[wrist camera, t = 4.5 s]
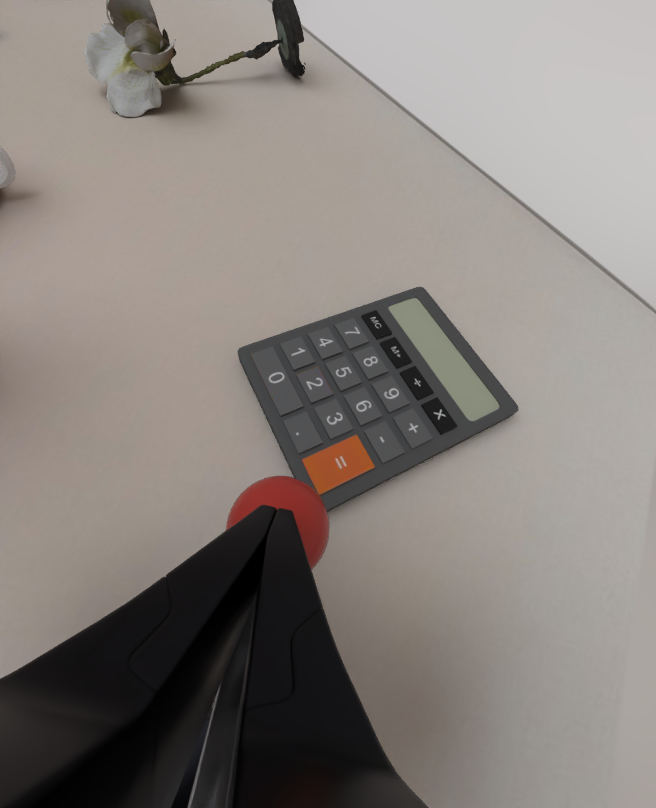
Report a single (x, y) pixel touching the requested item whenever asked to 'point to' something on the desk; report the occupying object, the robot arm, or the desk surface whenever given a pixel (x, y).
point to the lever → (223, 722)
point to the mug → (6, 169)
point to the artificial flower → (165, 53)
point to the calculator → (372, 393)
